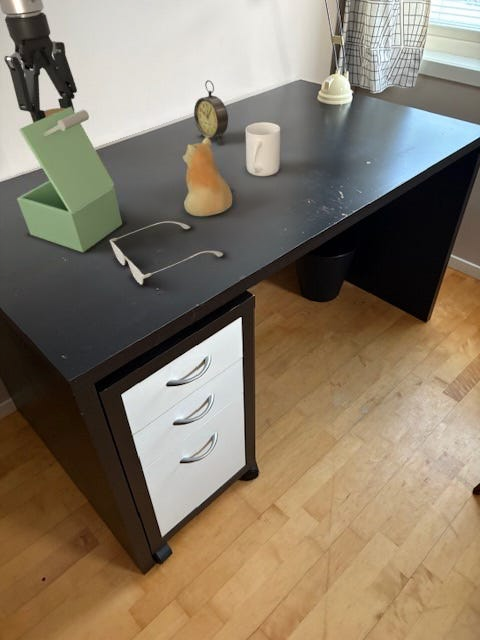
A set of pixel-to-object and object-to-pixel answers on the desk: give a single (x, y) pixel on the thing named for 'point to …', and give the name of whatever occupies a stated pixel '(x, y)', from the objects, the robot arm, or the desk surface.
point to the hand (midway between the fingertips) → (60, 135)
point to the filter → (52, 111)
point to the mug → (263, 148)
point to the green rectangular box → (69, 217)
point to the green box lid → (68, 157)
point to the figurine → (204, 182)
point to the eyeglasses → (134, 269)
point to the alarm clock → (211, 116)
